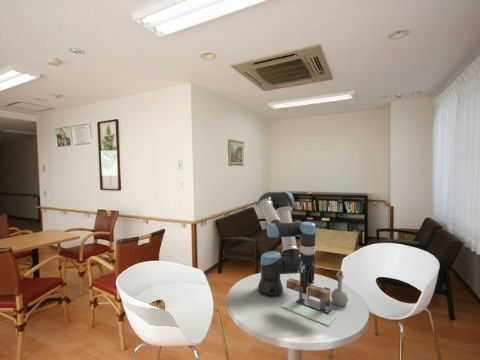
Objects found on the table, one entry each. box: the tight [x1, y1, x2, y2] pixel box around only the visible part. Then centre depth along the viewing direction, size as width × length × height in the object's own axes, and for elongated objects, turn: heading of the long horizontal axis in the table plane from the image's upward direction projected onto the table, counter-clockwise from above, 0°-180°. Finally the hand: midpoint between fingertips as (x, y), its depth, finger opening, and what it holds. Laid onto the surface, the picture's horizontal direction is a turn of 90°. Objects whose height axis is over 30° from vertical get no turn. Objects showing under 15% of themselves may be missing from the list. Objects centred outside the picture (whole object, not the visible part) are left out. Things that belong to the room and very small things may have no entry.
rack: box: [295, 286, 334, 315], centre depth 139 cm, size 18×7×10 cm, turn 50°
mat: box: [280, 299, 336, 327], centre depth 132 cm, size 26×8×1 cm, turn 50°
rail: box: [286, 277, 331, 301], centre depth 131 cm, size 22×4×4 cm, turn 50°
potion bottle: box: [330, 270, 349, 307], centre depth 141 cm, size 9×9×18 cm
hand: (307, 297), depth 131 cm, fingers closed on rail, 4 cm apart
